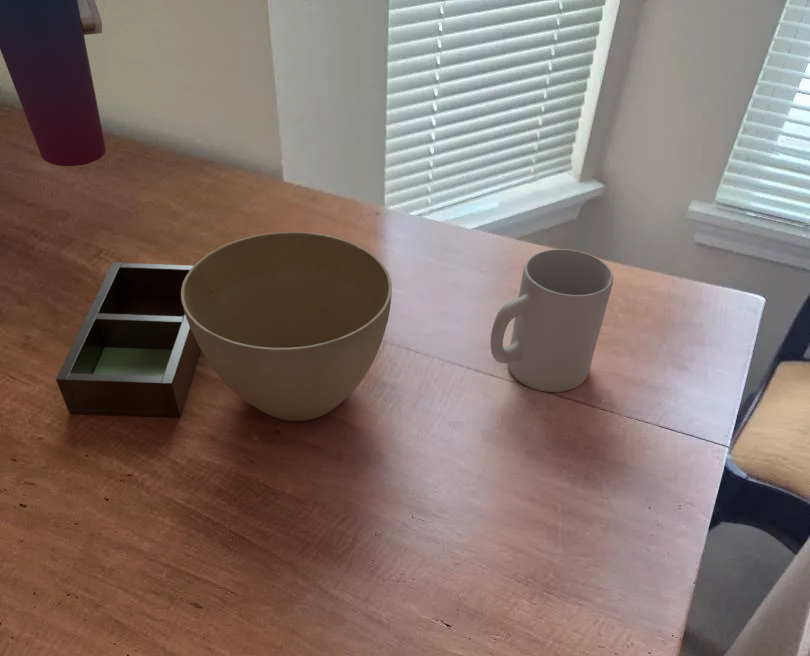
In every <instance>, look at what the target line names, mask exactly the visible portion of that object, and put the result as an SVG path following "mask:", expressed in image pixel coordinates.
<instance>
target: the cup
mask: <svg viewBox="0 0 810 656" xmlns="http://www.w3.org/2000/svg"><path fill="white" fill-rule="evenodd" d="M0 53H1V55H2V58H3V60H4V63H5V66H6V69H7V71H8V73H9V76H10V79H11V81H12V83H13V87H14V89H15V91H16V94H17V97H18V99H19V102H20V105H21V107H22V110H23V112H24V115H25V117H26V120H27V122H28V126H29V128H30V130H31V133H32V135H33V138H34V141H35V144H36V147H37V148H38V149H37V150H38V151H39V154H40V157H41V159H43V161H45V162H46V163H47V164H50V165H54V166H59V167H76V166H84V165H88V164H92V163H94V162H96V161H98V160H100V159H101V158H102V157H103V156H105V154H106V152H107V151H106V150H107V148H106V147H107V146H106V143H105V137H104V132H103V127H102V122H101V117H100V112H99V105H98V101H97V97H96V96H97V95H96V91H95V85H94V80H93V75H92V69H91V65H90V64H91V63H90V60H89V59H90V58H89V55H88V49H87V44H86V39H85V35H84V33H83V29H82V25H81V20H80V13H79V7H78V2H77V0H0Z"/></svg>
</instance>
